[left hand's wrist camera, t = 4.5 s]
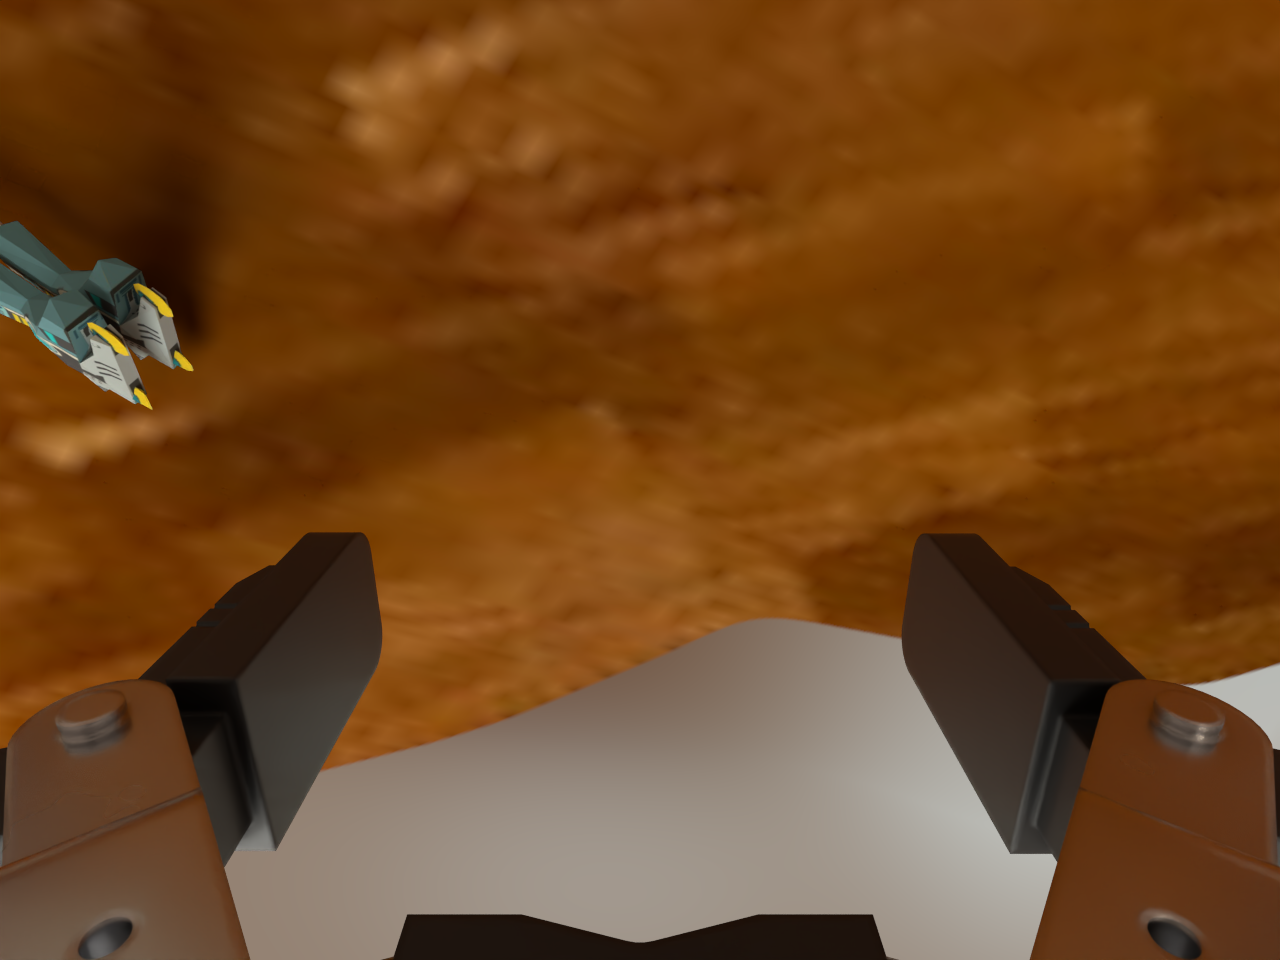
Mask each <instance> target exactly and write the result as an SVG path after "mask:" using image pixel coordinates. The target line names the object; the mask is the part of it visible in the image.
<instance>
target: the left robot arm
mask: <svg viewBox="0 0 1280 960" xmlns="http://www.w3.org/2000/svg"><path fill="white" fill-rule="evenodd" d="M381 647H382V625H381V617H380V611H379V604H378V597H377V590H376V583H375V576H374V569H373V562H372V555H371V549H370V545H369V542H368V539H367V538H366V536H365V535H364V534H363V533H307V534H306V535H305V536H303V537H302V539H301V540H300V541H299V542H298V543H297V544H296V545H295V546H294V547H293V548H292V549H291V550H290V551H289V552H288V553H287V554H286V555H285V556H284V557H283V558H282V559H281V560H280V561H279V562H278V563H277V564H276V565H269V566H267V567H266V568H264V569H262V570H260V571H258V572H256V573H254V574H253V575H251V576H249V577H247V578H245V579H243V580H242V581H240V582H238V583H236V584H235V585H234V586H233V587H232V588H231V589H230V590H229V591H228V592H227V593H226V594H225V595H224V596H223V597H222V598H221V599H220V600H219V601H218V602H217V603H216V604H215V608H214V609H210V610H208V611H207V612H206V613H205V614H204V615H203V616H202V617H201V618H200V619H199V620H198V621H197V625H196V627H191V628H190V629H189V630H188V631H187V632H186V633H185V634H184V635H183V636H182V637H181V638H180V639H179V640H178V641H177V642H176V643H175V644H174V645H173V646H172V647H171V648H170V649H168V650H167V651H166V652H165V653H164V654H163V655H162V656H161V657H160V658H159V659H158V660H157V661H156V662H155V663H154V664H153V665H152V666H151V667H150V668H149V669H148V670H147V671H146V672H145V673H144V674H143V675H142V676H141V677H140V678H139V679H132V680H122V681H115V682H110V683H105V684H101V685H97V686H94V687H90V688H87V689H84V690H82V691H79V692H76V693H74V694H71V695H69V696H67V697H64V698H62V699H60V700H58V701H56V702H54V703H52V704H50V705H49V706H47V707H46V708H44V709H42V710H41V711H39V712H38V713H36V714H35V715H34V716H32V717H31V718H29V719H28V720H27V721H26V722H25V723H24V724H23V725H22V726H20V727H19V729H18V730H17V731H16V732H15V733H14V735H13V736H12V738H11V740H10V741H9V743H8V747H7V748H2V749H0V960H250V957H249V954H248V950H247V947H246V943H245V939H244V936H243V933H242V929H241V926H240V922H239V918H238V915H237V912H236V908H235V904H234V901H233V897H232V894H231V890H230V887H229V883H228V880H227V876H226V873H225V869H224V867H225V865H226V864H227V862H228V860H229V859H230V857H231V856H232V854H233V852H234V851H276V850H277V848H278V846H279V844H280V842H281V840H282V839H283V837H284V835H285V833H286V831H287V830H288V828H289V826H290V824H291V822H292V820H293V819H294V817H295V815H296V813H297V811H298V810H299V808H300V806H301V804H302V802H303V801H304V799H305V797H306V795H307V793H308V791H309V790H310V788H311V786H312V784H313V782H314V781H315V779H316V777H317V775H318V773H319V771H320V770H321V768H322V766H323V764H324V762H325V761H326V759H327V757H328V755H329V753H330V752H331V750H332V748H333V746H334V744H335V742H336V741H337V739H338V737H339V735H340V733H341V732H342V730H343V728H344V726H345V724H346V722H347V721H348V719H349V717H350V715H351V713H352V712H353V710H354V708H355V706H356V704H357V703H358V701H359V699H360V697H361V695H362V693H363V692H364V690H365V688H366V686H367V684H368V683H369V681H370V679H371V677H372V675H373V673H374V672H375V670H376V668H377V665H378V662H379V658H380V653H381ZM902 648H903V655H904V659H905V663H906V666H907V669H908V671H909V673H910V675H911V677H912V678H913V680H914V682H915V684H916V685H917V687H918V689H919V691H920V693H921V695H922V696H923V698H924V700H925V702H926V703H927V705H928V707H929V709H930V711H931V712H932V714H933V716H934V718H935V720H936V721H937V723H938V725H939V727H940V729H941V730H942V732H943V734H944V736H945V738H946V739H947V741H948V743H949V745H950V746H951V748H952V750H953V752H954V754H955V755H956V757H957V759H958V761H959V763H960V764H961V766H962V768H963V770H964V772H965V773H966V775H967V777H968V779H969V781H970V782H971V784H972V786H973V788H974V790H975V791H976V793H977V795H978V797H979V799H980V800H981V802H982V804H983V806H984V807H985V809H986V811H987V813H988V815H989V816H990V818H991V820H992V822H993V824H994V825H995V827H996V829H997V831H998V833H999V834H1000V836H1001V838H1002V840H1003V842H1004V843H1005V845H1006V847H1007V849H1008V850H1009V852H1010V854H1053V856H1054V857H1055V859H1056V861H1057V866H1056V869H1055V873H1054V876H1053V880H1052V883H1051V887H1050V891H1049V894H1048V897H1047V901H1046V904H1045V908H1044V911H1043V915H1042V918H1041V922H1040V925H1039V929H1038V933H1037V936H1036V939H1035V943H1034V946H1033V950H1032V954H1031V957H1030V960H1280V750H1277V749H1273V748H1272V743H1271V741H1270V740H1269V738H1268V736H1267V735H1266V733H1265V732H1264V731H1263V730H1262V729H1261V727H1260V726H1258V725H1257V724H1256V723H1255V722H1254V721H1253V720H1252V719H1251V718H1249V717H1248V716H1246V715H1245V714H1244V713H1242V712H1241V711H1239V710H1238V709H1236V708H1234V707H1233V706H1231V705H1230V704H1228V703H1226V702H1224V701H1222V700H1220V699H1218V698H1216V697H1213V696H1211V695H1209V694H1206V693H1204V692H1201V691H1198V690H1196V689H1193V688H1190V687H1186V686H1183V685H1179V684H1175V683H1170V682H1165V681H1158V680H1148V679H1146V678H1145V677H1144V676H1143V675H1142V674H1141V673H1140V672H1139V671H1138V670H1136V669H1135V668H1134V667H1133V666H1132V665H1131V664H1130V663H1129V662H1128V661H1127V660H1126V659H1125V658H1124V657H1123V656H1122V655H1121V654H1120V653H1119V652H1118V651H1117V650H1116V649H1115V648H1114V647H1113V646H1112V645H1111V644H1110V643H1109V642H1108V641H1106V640H1105V639H1104V638H1103V637H1102V636H1101V635H1100V634H1099V633H1098V632H1097V631H1096V630H1095V629H1094V628H1089V623H1088V622H1087V621H1086V620H1085V619H1084V618H1083V617H1082V616H1081V615H1080V614H1079V613H1078V612H1076V611H1075V610H1071V606H1070V605H1069V604H1068V603H1067V602H1066V601H1065V600H1064V599H1063V598H1062V597H1061V596H1060V595H1059V594H1058V593H1057V592H1056V591H1055V590H1054V589H1053V588H1052V587H1051V586H1050V585H1048V584H1046V583H1045V582H1043V581H1041V580H1039V579H1037V578H1035V577H1034V576H1032V575H1030V574H1028V573H1026V572H1024V571H1022V570H1021V569H1019V568H1017V567H1009V566H1008V564H1007V563H1006V562H1005V561H1004V560H1003V559H1002V558H1001V557H1000V556H999V555H998V554H997V553H996V552H995V551H994V550H993V549H992V548H991V547H990V546H989V545H988V544H987V543H986V542H985V541H984V540H983V539H982V538H981V537H980V536H979V535H977V534H921V535H920V536H919V537H918V539H917V541H916V543H915V547H914V551H913V558H912V564H911V571H910V578H909V585H908V591H907V598H906V605H905V612H904V619H903V625H902ZM383 960H897V959H894V958H890V957H886V954H885V951H884V948H883V945H882V942H881V939H880V936H879V933H878V929H877V926H876V923H875V920H874V917H873V915H754V916H751V917H747V918H743V919H739V920H735V921H731V922H727V923H723V924H719V925H715V926H711V927H707V928H703V929H699V930H695V931H691V932H687V933H683V934H680V935H675V936H671V937H668V938H663V939H659V940H655V941H651V942H645V943H635V942H629V941H625V940H621V939H617V938H613V937H609V936H605V935H601V934H597V933H593V932H589V931H585V930H581V929H577V928H573V927H569V926H565V925H561V924H557V923H553V922H549V921H545V920H541V919H537V918H533V917H529V916H526V915H407V917H406V920H405V923H404V926H403V929H402V933H401V936H400V939H399V942H398V945H397V948H396V951H395V955H394V957H391V958H387V959H383Z"/></svg>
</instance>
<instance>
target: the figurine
mask: <svg viewBox="0 0 1280 960" xmlns="http://www.w3.org/2000/svg"><path fill="white" fill-rule="evenodd" d="M0 258H1V259H2V261H3V262H4V263H5V264H6V265H7V266H8V267H9V268H10V269H11V270H13V271H14V272H16V273H17V274H19V275H20V276H22V277H23V278H24V279H26V280H27V281H29V282H30V283H32V284H33V285H35V286H36V287H38V288H39V289H40V290H42V291H43V292H45V293H46V294H45V293H43V292H41V291H40V290H38V289H37V288H35V287H34V286H33V285H31V284H30V283H28V282H27V281H25V280H24V279H22V278H21V277H19V276H18V275H17V274H15V273H14V272H12V271H11V270H9V269H8V268H6V267H5V266H3V265H2V264H0V313H1V314H3V315H5V316H7V317H10V318H12V319H14V320H16V321H19V322H21V323H23V324H26V325H28V326H30V328H31V329H32V331H33V333H34V334H35V336H36V337H37V338H38V339H39V340H40V341H41V342H42V343H43V344H44V345H45V346H47V347H48V348H49V349H50V350H51V351H52V352H53V353H54V354H56V355H57V356H58V357H59V358H60V359H61V360H62V361H63V362H65V363H66V364H67V365H68V366H70V367H72V368H74V369H75V370H77V371H79V372H81V373H83V374H84V375H86V376H87V377H88V378H89V379H90V380H92V381H93V382H94V383H95V384H96V385H98V386H99V387H100V388H101V389H103V390H104V391H105V392H106V391H107V390H109V389H110V390H112V391H114V392H115V393H117V394H119V395H121V396H122V397H124V398H126V399H128V400H129V401H131V402H133V403H134V404H136V403H137V402H139V403H141V404H143V405H144V406H146V407H148V408H150V409H152V407H151V405H150V403H149V400H148V398H147V396H146V394H147V393H146V391H145V388H144V386H143V383H142V381H141V379H140V376H139V374H138V371H137V369H136V367H135V364H134V362H133V359H132V357H131V355H130V352H129V350H128V348H127V345H128V346H129V348H130V349H131V350H132V351H133V352H134V353H135V354H136V355H137V356H138V357H139V358H140V360H142V359H143V358H145V357H146V356H148V355H150V356H151V357H153V358H155V359H157V360H158V361H160V362H162V363H164V364H165V365H167V366H169V367H171V368H172V369H174V368H175V367H176V366H179V367H182V368H184V369H186V370H188V371H193V367H192V365H191V364H190V363H189V361H188V360H187V359H186V358H185V356H184V355H183V354H182V353H181V349H180V345H179V342H178V338H177V334H176V331H175V327H174V323H173V320H172V317H173V314H172V310H171V309H170V308H169V305H168V301H167V298H166V297H165V296H163V295H162V294H161V293H159V292H158V291H157V290H155V289H154V288H153V287H152V288H151V289H148V288H147V286H146V283H145V280H144V277H143V274H142V271H141V270H139V269H137V268H135V267H133V266H131V265H129V264H127V263H125V262H123V261H121V260H119V259H117V258H111V259H104V260H98V262H97V264H96V265H95V267H94V269H93V270H91V271H71V270H70V269H69V268H68V267H67V266H66V265H64V264H63V263H62V262H61V261H60V260H59V259H58V258H57V257H56V256H55V255H54V254H53V253H51V252H50V251H49V250H48V249H47V248H46V247H45V246H44V245H43V244H42V243H41V242H40V241H38V240H37V239H36V238H35V237H34V236H33V235H32V234H31V233H30V232H29V231H28V230H27V229H25V228H24V227H23V226H22V225H21V224H20V223H19V222H18V221H14V222H11V223H7V224H4V225H3V224H2V223H1V222H0ZM47 294H48V295H47ZM126 344H127V345H126Z"/></svg>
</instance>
